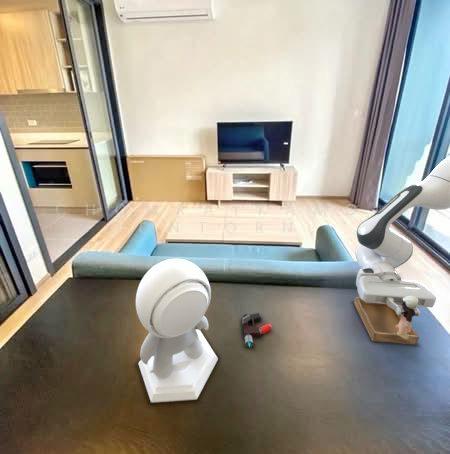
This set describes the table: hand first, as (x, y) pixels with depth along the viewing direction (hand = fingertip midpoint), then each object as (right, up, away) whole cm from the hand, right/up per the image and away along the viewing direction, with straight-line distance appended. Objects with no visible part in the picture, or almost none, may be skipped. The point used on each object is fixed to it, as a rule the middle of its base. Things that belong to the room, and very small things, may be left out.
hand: (409, 314), depth 68 cm
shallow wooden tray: (+3, -12, +17) cm, 21 cm away
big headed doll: (-64, -16, +4) cm, 67 cm away
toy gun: (-40, -13, +13) cm, 44 cm away
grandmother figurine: (0, -7, +4) cm, 8 cm away
